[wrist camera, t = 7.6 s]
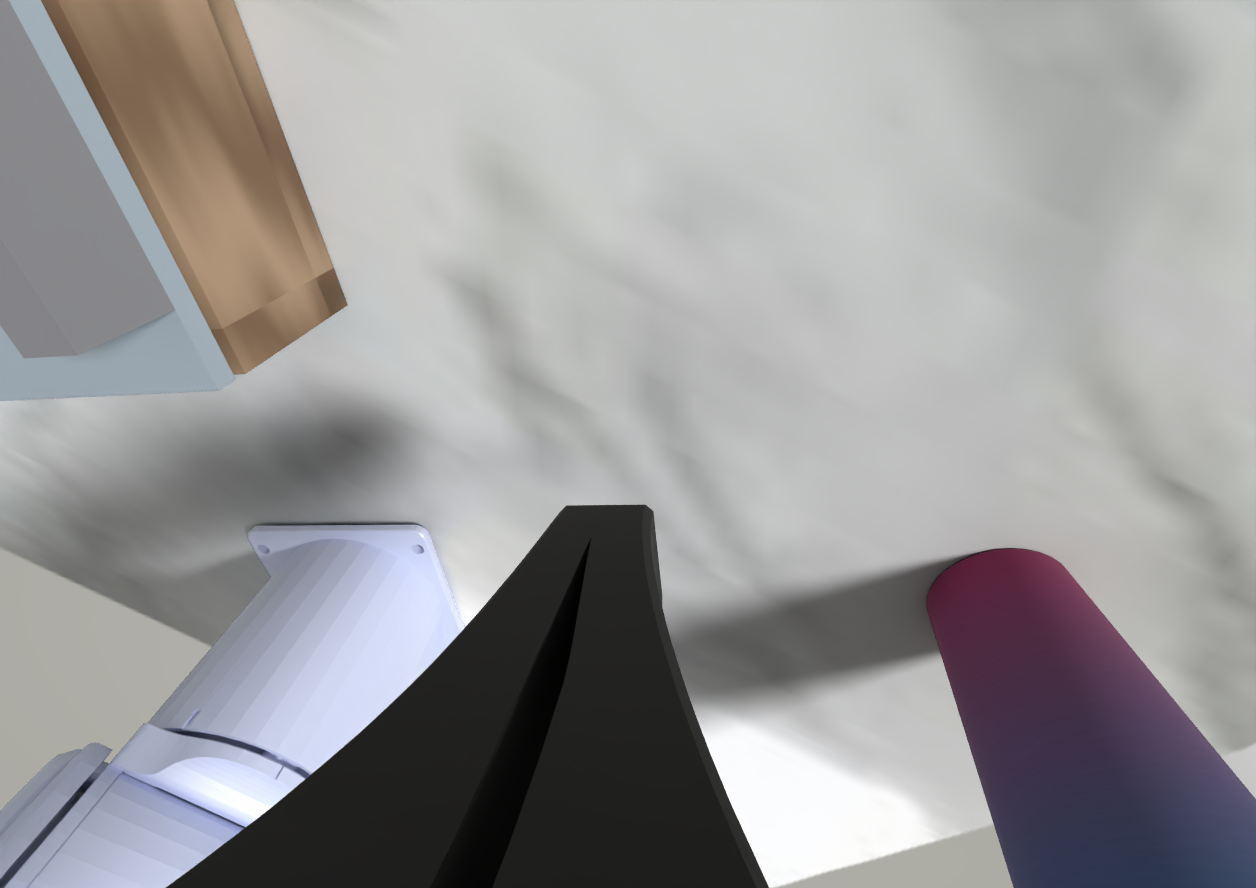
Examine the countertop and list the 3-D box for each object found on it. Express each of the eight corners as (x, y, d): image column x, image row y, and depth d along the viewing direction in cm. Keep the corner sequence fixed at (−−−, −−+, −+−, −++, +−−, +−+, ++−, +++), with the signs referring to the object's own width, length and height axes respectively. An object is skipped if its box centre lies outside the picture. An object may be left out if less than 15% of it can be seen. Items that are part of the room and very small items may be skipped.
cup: (967, 506, 20) (1379, 1213, 8) (1144, 561, 21) (1806, 1316, 8) (869, 627, 24) (1042, 1235, 12) (1020, 671, 24) (1346, 1306, 12)
